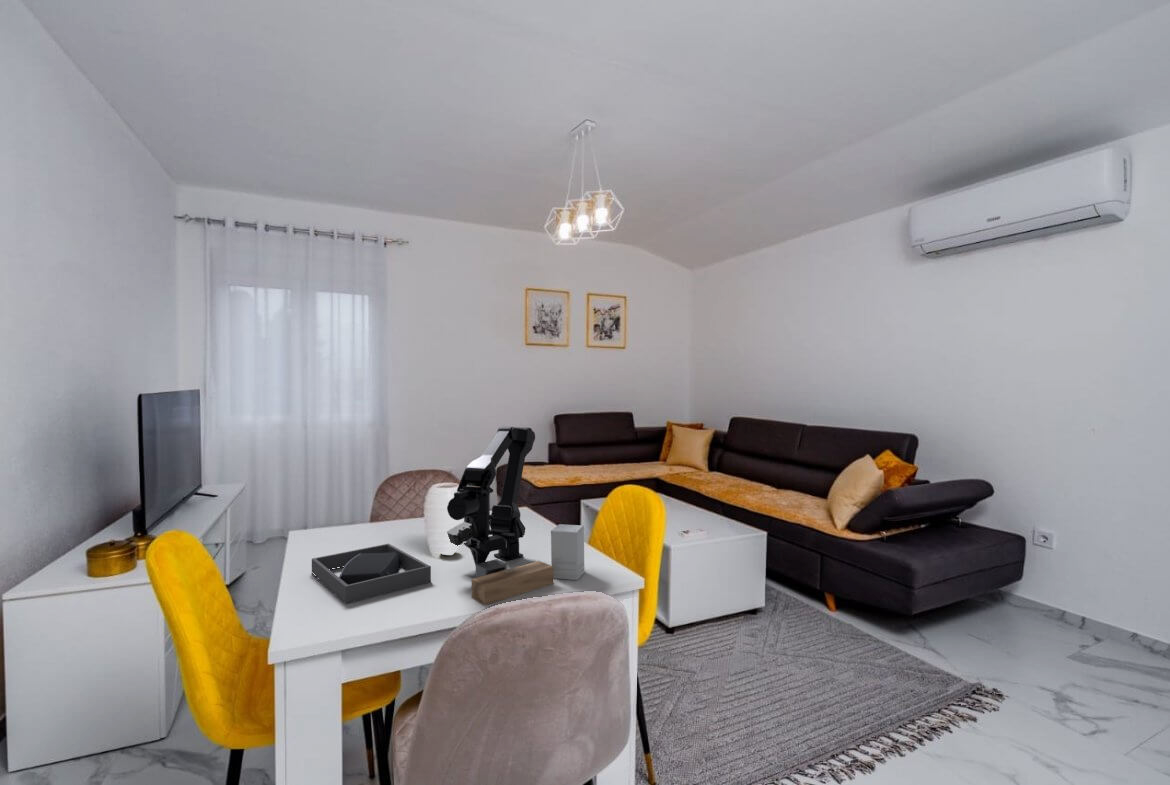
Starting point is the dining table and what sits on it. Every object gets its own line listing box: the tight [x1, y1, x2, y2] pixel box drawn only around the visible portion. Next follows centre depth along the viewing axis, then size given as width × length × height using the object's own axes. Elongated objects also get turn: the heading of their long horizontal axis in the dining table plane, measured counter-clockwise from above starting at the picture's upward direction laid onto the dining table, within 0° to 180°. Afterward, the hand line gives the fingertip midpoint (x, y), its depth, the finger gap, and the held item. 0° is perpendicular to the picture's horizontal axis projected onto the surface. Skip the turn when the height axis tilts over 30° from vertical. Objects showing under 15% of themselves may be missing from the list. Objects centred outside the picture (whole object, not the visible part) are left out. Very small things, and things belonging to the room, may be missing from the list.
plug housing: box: [475, 558, 508, 578], centre depth 138 cm, size 5×6×4 cm
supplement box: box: [550, 523, 586, 581], centre depth 141 cm, size 7×7×13 cm
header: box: [471, 560, 554, 606], centre depth 132 cm, size 11×20×4 cm, turn 132°
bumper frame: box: [311, 543, 432, 605], centre depth 140 cm, size 28×21×4 cm
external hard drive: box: [338, 552, 400, 585], centre depth 140 cm, size 13×19×4 cm
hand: (479, 569), depth 143 cm, fingers closed
